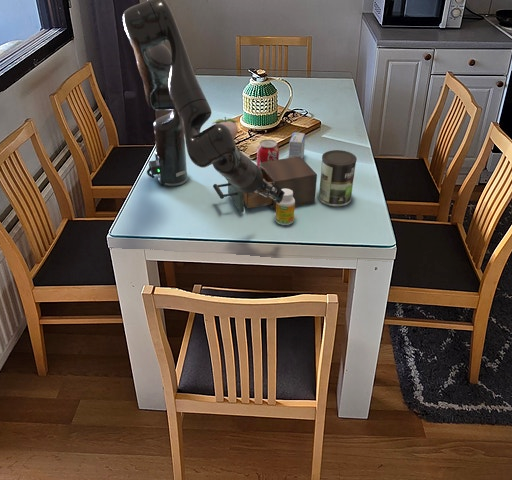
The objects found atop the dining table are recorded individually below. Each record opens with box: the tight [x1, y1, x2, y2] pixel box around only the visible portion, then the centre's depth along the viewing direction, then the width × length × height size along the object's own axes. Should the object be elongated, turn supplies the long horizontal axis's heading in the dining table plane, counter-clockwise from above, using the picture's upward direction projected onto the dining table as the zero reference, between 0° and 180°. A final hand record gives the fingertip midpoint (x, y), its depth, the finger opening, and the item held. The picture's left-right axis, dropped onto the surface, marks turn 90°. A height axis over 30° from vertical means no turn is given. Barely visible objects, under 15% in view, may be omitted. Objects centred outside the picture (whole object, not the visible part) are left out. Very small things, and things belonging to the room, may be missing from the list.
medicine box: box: [288, 132, 306, 160], centre depth 197 cm, size 8×4×9 cm, turn 168°
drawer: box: [212, 168, 273, 213], centre depth 173 cm, size 18×12×8 cm, turn 110°
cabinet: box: [259, 156, 318, 211], centre depth 177 cm, size 14×13×10 cm
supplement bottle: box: [275, 189, 296, 226], centre depth 166 cm, size 5×5×10 cm
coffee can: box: [318, 149, 357, 207], centre depth 175 cm, size 10×10×14 cm
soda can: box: [256, 139, 280, 167], centre depth 186 cm, size 7×7×12 cm
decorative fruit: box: [211, 116, 239, 139], centre depth 207 cm, size 9×8×10 cm
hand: (266, 195), depth 154 cm, fingers open, 8 cm apart
